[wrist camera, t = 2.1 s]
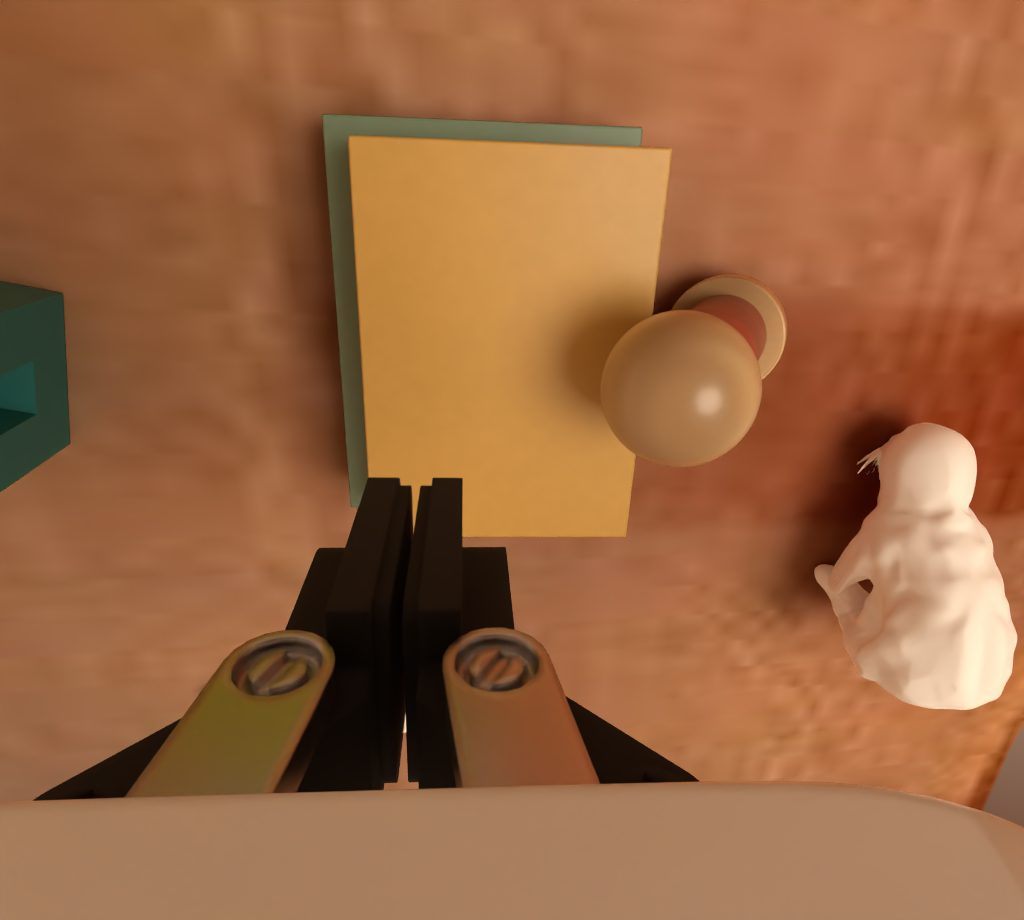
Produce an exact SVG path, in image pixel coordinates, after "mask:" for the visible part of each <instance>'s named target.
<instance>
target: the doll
mask: <svg viewBox="0 0 1024 920" xmlns="http://www.w3.org/2000/svg"><path fill="white" fill-rule="evenodd" d="M786 339H787V319H786V315H785V311H784V309H783V306H782V304H781V302H780V301H779V299H778V298H777V296H776V295H775V294H774V293H773V292H772V290H770V289H769V288H768V287H767V286H766V285H764V284H763V283H761V282H760V281H758V280H756V279H753V278H751V277H748V276H744V275H738V274H722V275H717V276H712V277H710V278H707V279H705V280H703V281H701V282H699V283H697V284H696V285H694V286H693V287H691V288H690V289H688V290H687V291H686V292H685V293H684V294H683V295H682V296H681V297H680V298H679V299H678V300H677V302H676V303H675V305H674V306H673V308H672V310H671V311H667V312H662V313H659V314H656V315H653V316H651V317H649V318H646V319H644V320H643V321H641V322H639V323H638V324H636V325H635V326H633V327H632V328H631V329H630V330H628V331H627V332H626V333H625V334H624V335H623V336H622V337H621V338H620V339H619V341H618V342H617V343H616V345H615V346H614V347H613V349H612V351H611V352H610V354H609V356H608V358H607V361H606V363H605V366H604V369H603V373H602V379H601V393H600V395H601V404H602V408H603V411H604V415H605V418H606V420H607V422H608V425H609V427H610V428H611V430H612V432H613V433H614V434H615V436H616V437H617V438H618V440H619V441H620V442H621V443H622V444H623V445H624V446H625V447H626V448H627V449H629V450H630V451H631V452H633V453H634V454H636V455H637V456H639V457H640V458H642V459H644V460H646V461H649V462H652V463H655V464H658V465H663V466H667V467H690V466H696V465H700V464H704V463H707V462H710V461H712V460H714V459H716V458H718V457H720V456H722V455H724V454H725V453H727V452H728V451H729V450H731V449H732V448H733V447H734V446H735V445H736V444H738V443H739V442H740V440H741V439H742V438H743V437H744V436H745V435H746V433H747V432H748V430H749V429H750V427H751V425H752V424H753V422H754V420H755V417H756V415H757V412H758V409H759V405H760V401H761V395H762V379H763V378H765V377H766V376H767V375H768V374H769V373H770V372H771V371H772V369H773V368H774V367H775V366H776V364H777V362H778V361H779V359H780V357H781V354H782V352H783V349H784V347H785V343H786Z"/></svg>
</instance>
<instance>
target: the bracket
mask: <svg viewBox="0 0 1024 920" xmlns="http://www.w3.org/2000/svg"><path fill="white" fill-rule="evenodd" d="M69 444H70V430H69V409H68V388H67V367H66V346H65V326H64V305H63V293H60V292H54V291H49V290H44V289H39V288H34V287H29V286H24V285H18V284H13V283H8V282H3V281H0V492H1V491H2V490H4V489H6V488H7V487H9V486H10V485H11V484H13V483H14V482H16V481H17V480H19V479H20V478H21V477H23V476H24V475H26V474H27V473H29V472H30V471H31V470H33V469H34V468H36V467H37V466H39V465H40V464H42V463H43V462H44V461H46V460H47V459H49V458H50V457H52V456H53V455H54V454H56V453H57V452H59V451H60V450H62V449H63V448H64V447H66V446H67V445H69Z"/></svg>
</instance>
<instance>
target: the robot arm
mask: <svg viewBox="0 0 1024 920" xmlns="http://www.w3.org/2000/svg"><path fill="white" fill-rule="evenodd" d="M462 510H463V478H433V479H432V486H425V485H421V486H420V493H419V499H418V506H417V513H416V520H415V526H414V533H413V505H412V487H411V485H401V483H400V478H398V477H369V478H368V479H367V483H366V486H365V489H364V492H363V495H362V498H361V501H360V504H359V507H358V510H357V513H356V516H355V520H354V523H353V526H352V529H351V532H350V535H349V538H348V541H347V544H346V547H345V548H319V549H318V550H317V552H316V554H315V556H314V559H313V561H312V564H311V566H310V569H309V571H308V574H307V576H306V579H305V581H304V584H303V586H302V589H301V591H300V594H299V597H298V599H297V602H296V604H295V607H294V609H293V612H292V614H291V617H290V619H289V622H288V624H287V627H286V629H285V630H282V631H277V632H272V633H267V634H264V635H261V636H259V637H256V638H253V639H251V640H249V641H247V642H245V643H244V644H242V645H241V646H239V647H237V648H236V649H234V650H233V651H232V653H231V654H230V655H229V656H228V657H227V658H226V659H225V660H224V661H223V662H222V664H221V665H220V666H219V668H218V669H217V671H216V672H215V673H214V675H213V676H212V677H211V679H210V680H209V682H208V683H207V684H206V686H205V687H204V688H203V690H202V691H201V693H200V694H199V695H198V697H197V698H196V699H195V701H194V702H193V704H192V705H191V706H190V708H189V709H188V710H187V712H186V713H185V715H184V716H183V717H182V718H181V719H179V720H177V721H176V722H174V723H172V724H170V725H168V726H166V727H165V728H163V729H161V730H159V731H157V732H155V733H154V734H152V735H150V736H148V737H146V738H144V739H143V740H141V741H139V742H137V743H135V744H133V745H131V746H130V747H128V748H126V749H124V750H122V751H120V752H119V753H117V754H115V755H113V756H111V757H109V758H108V759H106V760H104V761H102V762H100V763H98V764H97V765H95V766H93V767H91V768H89V769H87V770H85V771H84V772H82V773H80V774H78V775H76V776H74V777H73V778H71V779H69V780H67V781H65V782H63V783H62V784H60V785H58V786H56V787H54V788H52V789H51V790H49V791H47V792H45V793H43V794H42V795H40V796H39V797H37V798H36V799H34V800H33V801H14V802H0V920H1024V827H1022V826H1019V825H1017V824H1015V823H1012V822H1010V821H1008V820H1005V819H1002V818H999V817H997V816H994V815H991V814H988V813H986V812H983V811H980V810H977V809H973V808H970V807H966V806H963V805H959V804H956V803H952V802H949V801H945V800H942V799H938V798H935V797H931V796H928V795H922V794H917V793H911V792H906V791H900V790H894V789H889V788H883V787H878V786H868V785H857V784H845V783H833V782H787V781H707V782H700V781H699V780H697V779H696V778H695V777H694V776H692V775H691V774H690V773H688V772H686V771H685V770H683V769H682V768H680V767H678V766H677V765H675V764H674V763H672V762H670V761H669V760H667V759H666V758H664V757H662V756H661V755H659V754H658V753H656V752H654V751H653V750H651V749H650V748H648V747H646V746H645V745H643V744H642V743H640V742H638V741H637V740H635V739H634V738H632V737H630V736H629V735H627V734H625V733H624V732H622V731H621V730H619V729H617V728H616V727H614V726H613V725H611V724H609V723H608V722H606V721H605V720H603V719H601V718H600V717H598V716H597V715H595V714H593V713H592V712H590V711H589V710H587V709H585V708H584V707H582V706H581V705H579V704H577V703H576V702H574V701H573V700H571V699H569V698H568V697H566V696H565V694H564V691H563V689H562V686H561V684H560V681H559V679H558V676H557V674H556V671H555V669H554V666H553V664H552V661H551V659H550V656H549V654H548V653H547V651H546V650H545V648H544V647H543V645H542V644H541V643H539V642H538V641H537V640H536V639H534V638H533V637H532V636H529V635H527V634H525V633H522V632H520V631H517V630H514V621H513V611H512V602H511V592H510V583H509V573H508V564H507V554H506V548H505V547H462ZM405 714H406V736H407V762H408V781H409V782H419V789H402V790H383V789H384V783H397V781H398V775H399V767H400V758H401V749H402V740H403V731H404V722H405Z"/></svg>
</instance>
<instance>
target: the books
mask: <svg viewBox="0 0 1024 920" xmlns="http://www.w3.org/2000/svg"><path fill="white" fill-rule="evenodd" d="M322 122H323V136H324V149H325V163H326V176H327V190H328V204H329V217H330V231H331V245H332V258H333V272H334V285H335V299H336V313H337V326H338V340H339V353H340V367H341V381H342V394H343V408H344V422H345V435H346V449H347V462H348V476H349V490H350V503H351V507H359V504H360V501H361V498H362V495H363V492H364V489H365V486H366V483H367V479H368V478H369V477H398V478H400V483H401V485H411V487H412V505H413V533H414V526H415V520H416V513H417V506H418V499H419V493H420V486H421V485H425V486H432V479H433V478H463V510H462V537H625V536H626V532H627V524H628V515H629V507H630V499H631V490H632V482H633V474H634V465H635V457H636V454H634V453H633V452H631V451H630V450H629V449H627V448H626V447H625V446H624V445H623V444H622V443H621V442H620V441H619V440H618V438H617V437H616V436H615V434H614V433H613V432H612V430H611V428H610V427H609V425H608V422H607V420H606V418H605V415H604V411H603V408H602V404H601V395H600V393H601V379H602V373H603V369H604V366H605V363H606V361H607V358H608V356H609V354H610V352H611V351H612V349H613V347H614V346H615V345H616V343H617V342H618V341H619V339H620V338H621V337H622V336H623V335H624V334H625V333H626V332H627V331H628V330H630V329H631V328H632V327H633V326H635V325H636V324H638V323H639V322H641V321H643V320H644V319H646V318H649V317H651V316H653V307H654V299H655V291H656V283H657V274H658V266H659V258H660V249H661V241H662V233H663V224H664V216H665V208H666V199H667V191H668V183H669V174H670V166H671V158H672V149H671V148H664V147H641V141H642V132H643V129H642V128H641V127H625V126H601V125H577V124H553V123H529V122H505V121H481V120H458V119H434V118H410V117H386V116H362V115H338V114H323V115H322Z"/></svg>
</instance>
